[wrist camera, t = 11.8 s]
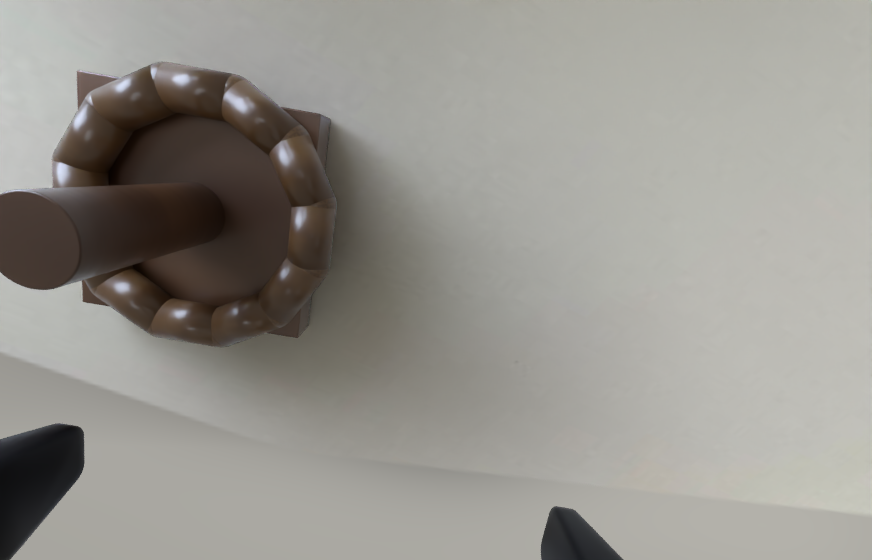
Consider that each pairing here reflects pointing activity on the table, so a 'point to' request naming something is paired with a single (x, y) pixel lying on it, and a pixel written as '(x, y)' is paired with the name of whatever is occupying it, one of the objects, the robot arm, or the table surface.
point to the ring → (266, 128)
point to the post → (163, 215)
